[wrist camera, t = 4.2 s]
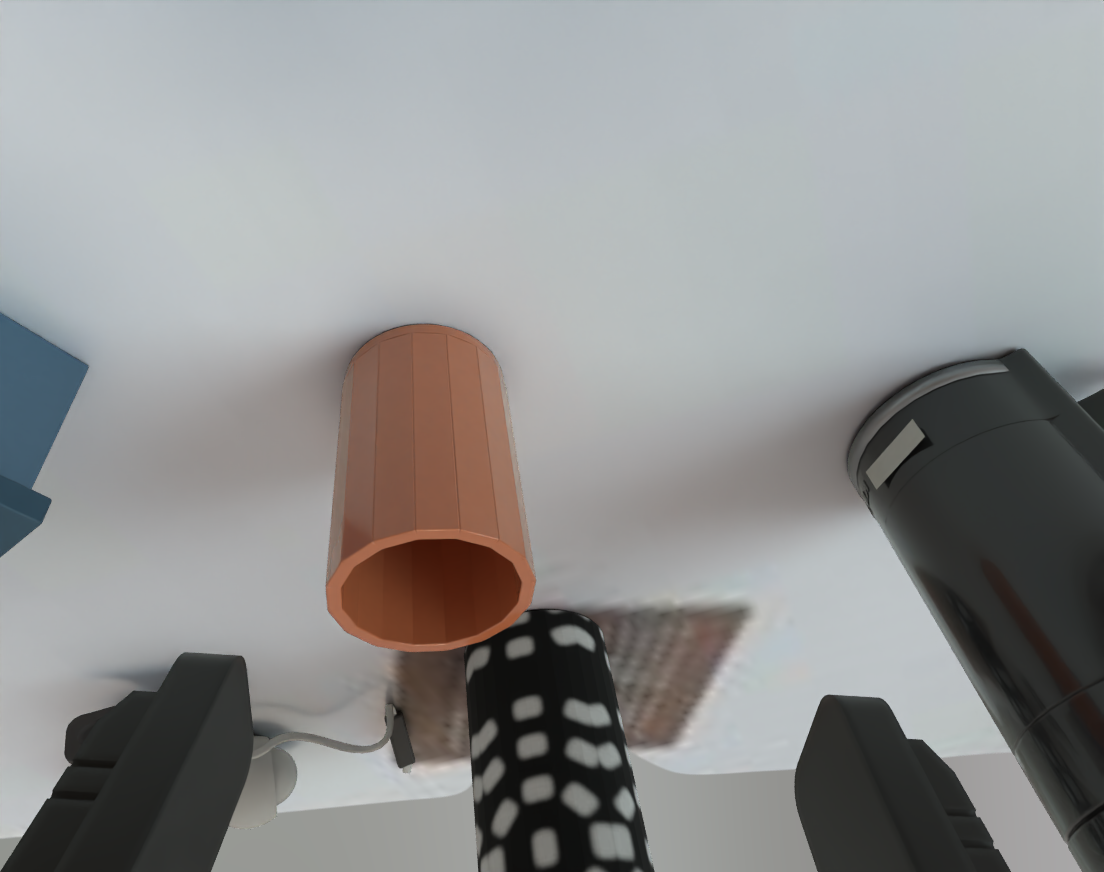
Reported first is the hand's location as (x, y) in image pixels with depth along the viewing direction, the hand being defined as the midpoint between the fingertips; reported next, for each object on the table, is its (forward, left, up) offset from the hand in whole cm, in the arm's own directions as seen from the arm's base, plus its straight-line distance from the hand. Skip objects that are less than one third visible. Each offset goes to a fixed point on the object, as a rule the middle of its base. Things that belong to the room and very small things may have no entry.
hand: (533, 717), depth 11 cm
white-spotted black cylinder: (+16, +25, -19) cm, 36 cm away
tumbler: (+7, +6, -19) cm, 21 cm away
